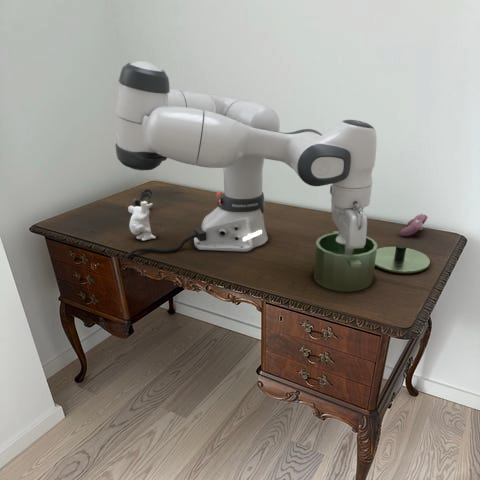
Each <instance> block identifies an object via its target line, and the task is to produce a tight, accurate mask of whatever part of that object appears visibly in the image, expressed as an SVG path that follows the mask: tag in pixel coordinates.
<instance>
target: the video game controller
mask: <svg viewBox="0 0 480 480" xmlns="http://www.w3.org/2000/svg"><path fill="white" fill-rule="evenodd" d="M428 218H429V216H428V215H427V214H425V213H424V214H423V213H420V214H418V215H416V216H415V217H414V218H412V219H409V221H408V222H407V226H406V227H404V228H402V229H401V230H400V231H399V235H400V236H401V237H409V236H411V235H412V236H414V235H415V234H416V233H417V232H418V231H419V232H421V231H422V230H423V227H422V226H423V225H424V224H425V223H426V222H427V219H428Z"/></svg>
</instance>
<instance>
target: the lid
mask: <svg viewBox="0 0 480 480" xmlns="http://www.w3.org/2000/svg"><path fill="white" fill-rule="evenodd" d="M430 264H431V260H430V258H429V256H427V255H426V254H425V253H423V252H421V251H419V250H416V249H413V248H408V247H407V245H405V244H402V243H401V244H400V243H399V244H396V246H385V247H380V248H377V253H376V260H375V267H376V268H378V269H381V270H383V271H386V272H389V273H390V272H391V273H396V274H415V273H419V272H423V271H425V270H426V269H428V268H429V266H430Z"/></svg>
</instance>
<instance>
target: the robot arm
mask: <svg viewBox="0 0 480 480" xmlns="http://www.w3.org/2000/svg"><path fill="white" fill-rule="evenodd" d="M169 79H170V78H169V77H168V75H167V73H166V71H165V70H164V69H161V68H160V67H159V66H157V65H156V64H154V63H152V62H149V61H145V60H144V61H143V60H139V61H137V60H136V61H134V62H128V63H126V64H125V65H124V66H122V68H121V71H120V75H119V78H118V82H119V87H118V92H117V99H116V105H115V115H116V116H115V118H116V119H115V133H116V135H115V136H116V143H115V144H114V145H115V146H114V147H115V154H116V158H117V160H118V161H119V162H120V164H122V165H123V166H125V167H126V168H130V169H132V170H134V171H152V170H154V169H156V168H158V167H159V166H161V164H162V163H163V162H165V161H167V159H169V160H173V161H176V162H179V163H183V164H185V165H186V164H187V165H191V166H196V167H201V168H208V169H223V172H222V173H223V191H224V192H222V191H218V192H217V193H216V199H217V207H216V208H214V209H213V210H212V211H211V212H209V213H208V214H207V215H205V217H204V218H203V220H202V222H201V226H200V227H198V228H194V229H193V230H194V234H192V235H189V236H186V237H185V238H184V239H182V241H181V243H179V245H178V246H175V247H172V248H158V247H139V248H135V249H133V250H131V251H129V252H128V253H127V255H125V257H124V260H128V259H130V257H131V256H133V255H134V254H137V253H140V252H158V253H174V252H177V251H179V250H181V249H182V248H183V247H184V246H185V244H186V243H187V242H188V241H191V240H193V244H194V247H195V248H196V249H197V250H201V251H218V252H219V251H221V252H245V253H246V252H250V251H251V250H253V249H255V248H257V247H260V246H262V245H264V244H266V242H268V240H269V237H268V234H267V230H266V224H265V219H264V212H265V194H264V192H263V180H264V179H263V177H264V176H263V173H264V163H265V160H271V161H276V162H281V163H284V164H286V165H287V166H289V167H290V168H291V169H292V170H293V171H294V172H295V173H296V175H297V176H298V177H299V179H300V180H301V181H302V182H304V183H305V184H306V185H308V186H310V187H323V186H329V185H330V187H329V193H330V197H331V199H330V202H331V219H332V221H333V223H334V225H335V226H336V228H337V231H338V232H339V235H342V237H343V238H344V240H345V243H346V246H345V248H344V255H352V253H353V249H358V248H364V246H365V243H366V236H367V231H368V217H367V215H366V213H365V212H364V208H367V207H369V206H370V203H371V196H372V190H373V189H372V188H373V176H372V175H373V174H372V173H373V170H374V167H375V164H376V157H377V131H376V129H375V127H374V126H372V125H371V124H370V123H367V122H365V121H361V120H358V119H357V120H356V119H343V120H342V121H340V123H339V124H338V125H337V126H335V127H333V128H332V129H331V130H329V131H328V132H325V133H321V132H319V131H318V130H316V129H314V128H313V129H312V128H304V129H299V130H296V131H290V132H281V131H280V129H281V123H280V118H279V115H278V114H277V112H276V111H275V110H274V109H273V108H272V107H269V106H268V105H266V104H265V103H263V102H259V101H253V100H249V99H248V100H247V99H242V98H236V97H230V96H223V95H217V94H216V95H215V94H208V93H203V92H202V93H201V92H194V91H188V90H181V89H174V88H173V89H172V88H171V87H170V86H171V85H170V80H169Z"/></svg>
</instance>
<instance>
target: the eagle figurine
mask: <svg viewBox="0 0 480 480" xmlns="http://www.w3.org/2000/svg"><path fill="white" fill-rule="evenodd" d="M139 195H140V196H139V199H138V198H137V197H136V198H134V199H133V200H132V201H131V206H133V207H136V206H140V207H141V202H143V201H146V202H147V203H148V204H150V203H151V200H150V199H152V198H153V192H152V190H151V189H148V188H147V189H145V190H144V191H142V192H141V193H140V194H139ZM148 209H149V210H151V207H150V208H148Z"/></svg>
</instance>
